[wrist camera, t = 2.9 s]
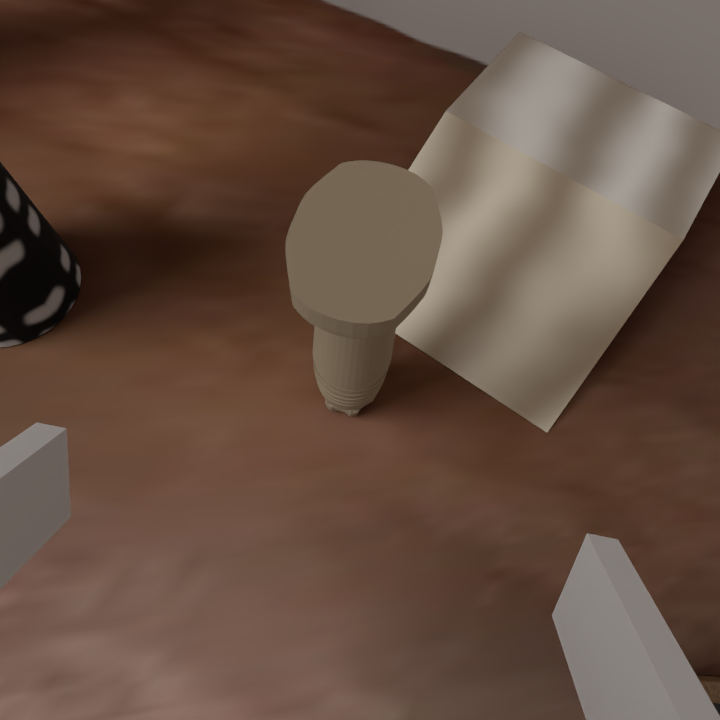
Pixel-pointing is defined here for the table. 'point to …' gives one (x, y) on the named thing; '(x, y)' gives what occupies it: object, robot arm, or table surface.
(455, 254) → the ramp bench
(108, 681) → the table surface
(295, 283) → the handle
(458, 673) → the table surface
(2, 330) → the white-spotted black cylinder
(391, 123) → the table surface
